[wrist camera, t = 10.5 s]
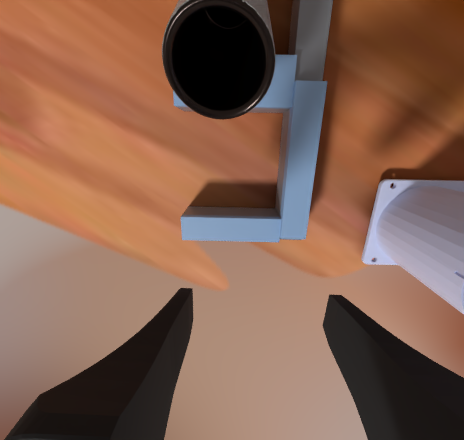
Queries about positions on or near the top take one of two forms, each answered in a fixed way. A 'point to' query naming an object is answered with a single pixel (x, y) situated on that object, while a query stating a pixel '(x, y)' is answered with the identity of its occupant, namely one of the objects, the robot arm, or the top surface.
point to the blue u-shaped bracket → (295, 172)
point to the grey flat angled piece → (307, 69)
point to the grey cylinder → (219, 55)
